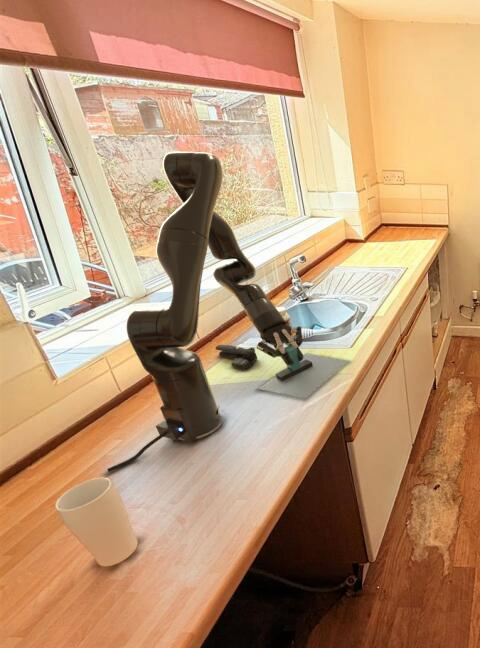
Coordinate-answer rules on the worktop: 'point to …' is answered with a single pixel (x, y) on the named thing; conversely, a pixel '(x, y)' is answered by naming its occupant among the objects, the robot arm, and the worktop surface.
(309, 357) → the cloth mat
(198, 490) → the worktop surface
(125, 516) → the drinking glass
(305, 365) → the wiper
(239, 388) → the worktop surface
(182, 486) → the worktop surface
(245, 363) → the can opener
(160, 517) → the worktop surface
